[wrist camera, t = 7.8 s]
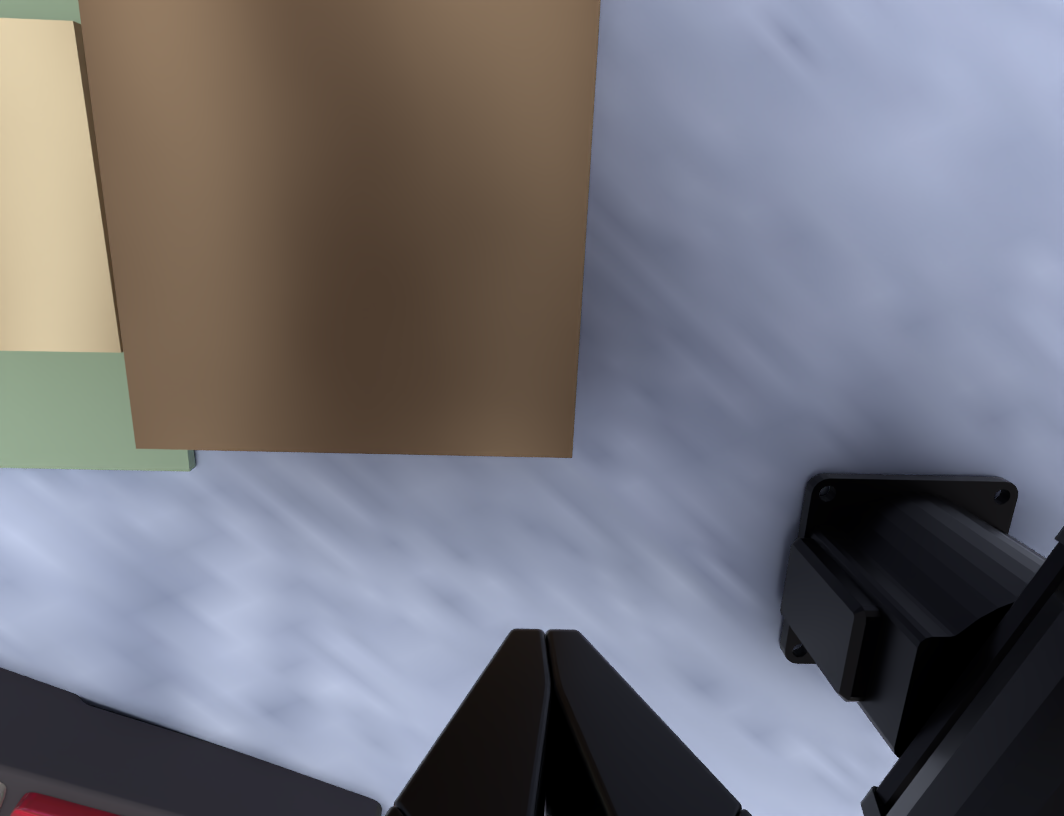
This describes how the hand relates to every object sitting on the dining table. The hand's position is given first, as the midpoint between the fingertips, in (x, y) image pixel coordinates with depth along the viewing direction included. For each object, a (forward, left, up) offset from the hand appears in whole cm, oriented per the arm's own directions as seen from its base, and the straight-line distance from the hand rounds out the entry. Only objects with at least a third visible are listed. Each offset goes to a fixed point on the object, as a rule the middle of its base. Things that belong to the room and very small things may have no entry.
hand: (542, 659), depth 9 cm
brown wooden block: (+4, -6, -12) cm, 14 cm away
